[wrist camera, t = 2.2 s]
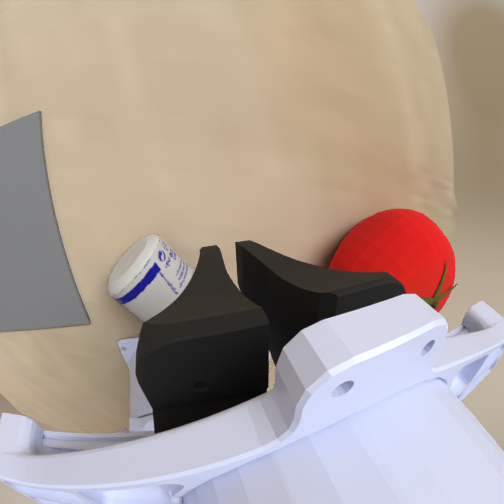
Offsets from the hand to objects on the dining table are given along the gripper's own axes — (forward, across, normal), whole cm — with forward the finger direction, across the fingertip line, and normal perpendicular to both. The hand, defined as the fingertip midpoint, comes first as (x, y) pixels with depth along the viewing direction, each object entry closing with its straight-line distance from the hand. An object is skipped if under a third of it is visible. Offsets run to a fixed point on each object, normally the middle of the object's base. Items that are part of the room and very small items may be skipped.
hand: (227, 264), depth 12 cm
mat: (+10, +20, 0) cm, 23 cm away
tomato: (+11, -16, +7) cm, 20 cm away
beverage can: (+8, +6, +2) cm, 10 cm away
